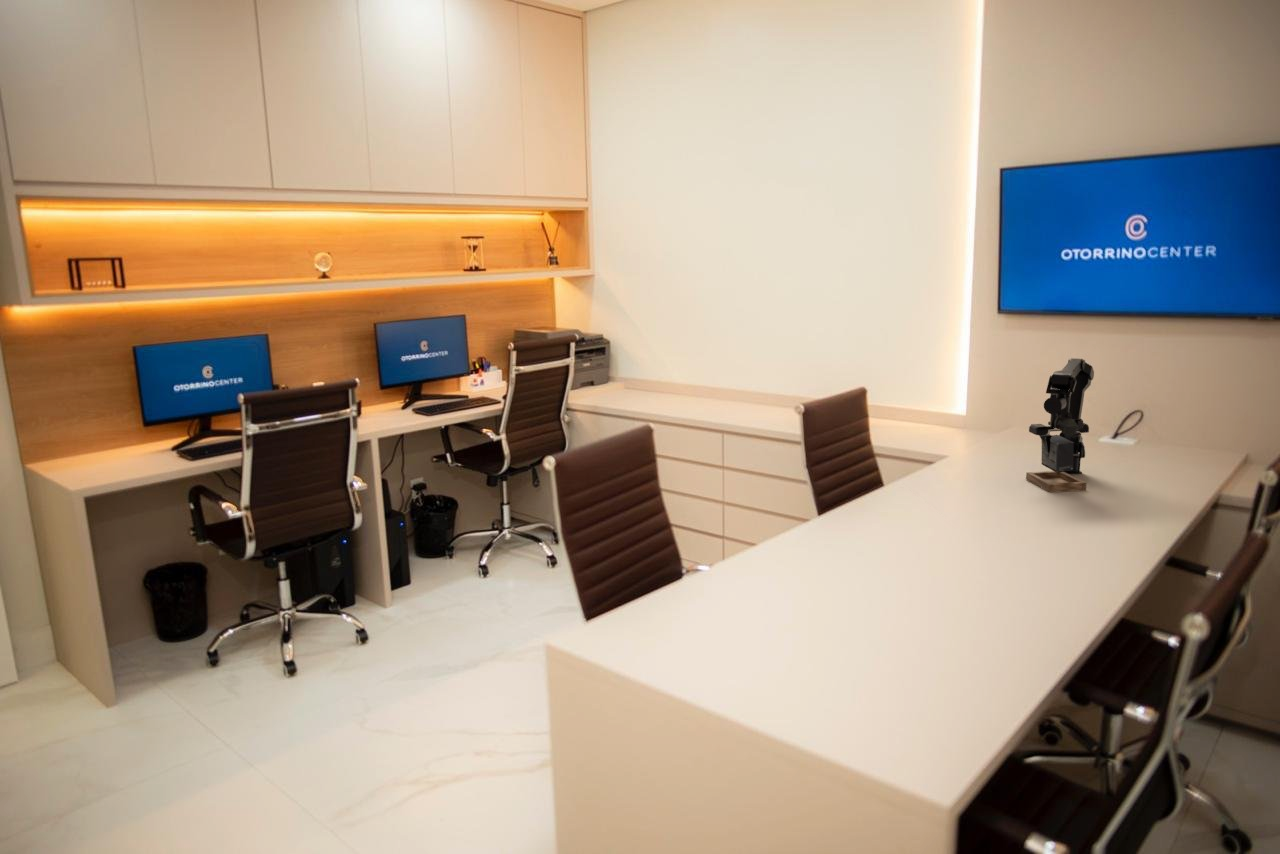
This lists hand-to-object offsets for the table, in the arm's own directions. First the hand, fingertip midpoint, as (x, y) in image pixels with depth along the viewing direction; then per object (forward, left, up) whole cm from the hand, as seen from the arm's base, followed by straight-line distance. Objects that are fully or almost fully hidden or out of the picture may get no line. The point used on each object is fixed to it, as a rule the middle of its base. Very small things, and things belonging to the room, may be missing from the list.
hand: (1057, 452), depth 299 cm
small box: (-1, 0, -6) cm, 6 cm away
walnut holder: (0, 0, -12) cm, 12 cm away
